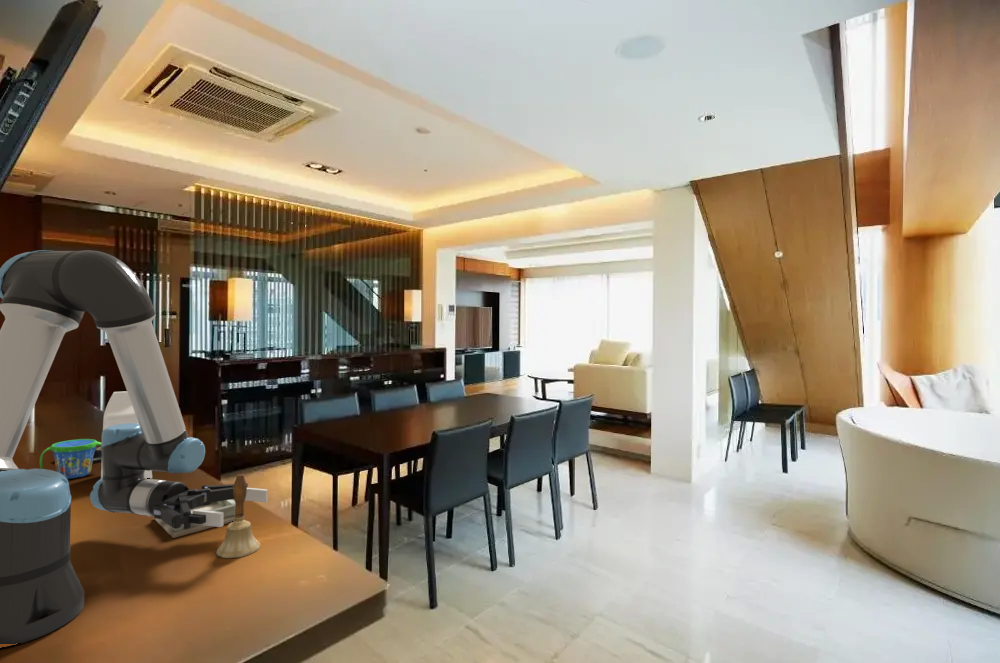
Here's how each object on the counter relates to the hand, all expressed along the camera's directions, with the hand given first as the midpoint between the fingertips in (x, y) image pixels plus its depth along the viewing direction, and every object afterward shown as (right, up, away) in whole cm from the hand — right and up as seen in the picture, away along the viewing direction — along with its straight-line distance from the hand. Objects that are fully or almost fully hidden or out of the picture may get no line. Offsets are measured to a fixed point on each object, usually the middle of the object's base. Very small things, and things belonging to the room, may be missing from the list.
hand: (246, 507), depth 106 cm
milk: (-59, -7, +45) cm, 75 cm away
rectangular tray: (-19, -8, +15) cm, 26 cm away
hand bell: (-2, -9, 0) cm, 9 cm away
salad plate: (-85, -7, +64) cm, 107 cm away
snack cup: (-75, -7, +45) cm, 88 cm away
